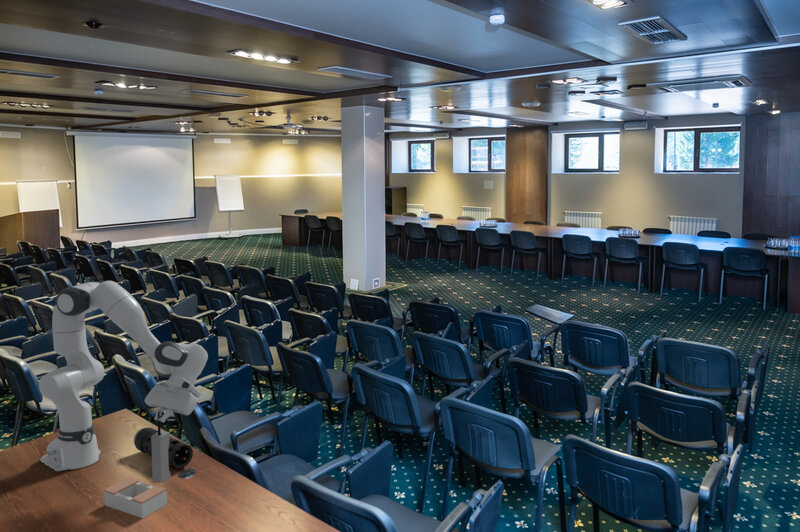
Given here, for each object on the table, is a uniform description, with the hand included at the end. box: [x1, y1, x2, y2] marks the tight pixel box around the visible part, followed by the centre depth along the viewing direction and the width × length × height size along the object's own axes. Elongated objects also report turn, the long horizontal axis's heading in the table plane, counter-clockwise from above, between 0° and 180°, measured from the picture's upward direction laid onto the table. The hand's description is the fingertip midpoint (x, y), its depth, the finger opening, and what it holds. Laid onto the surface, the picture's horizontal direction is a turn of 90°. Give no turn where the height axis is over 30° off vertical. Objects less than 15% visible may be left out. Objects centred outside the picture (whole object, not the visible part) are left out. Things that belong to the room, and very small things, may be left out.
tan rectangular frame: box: [103, 477, 168, 519], centre depth 208 cm, size 18×10×6 cm, turn 64°
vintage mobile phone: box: [151, 412, 172, 483], centre depth 217 cm, size 4×5×25 cm
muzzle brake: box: [133, 427, 194, 470], centre depth 242 cm, size 10×28×10 cm, turn 53°
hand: (158, 420), depth 215 cm, fingers closed on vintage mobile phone
